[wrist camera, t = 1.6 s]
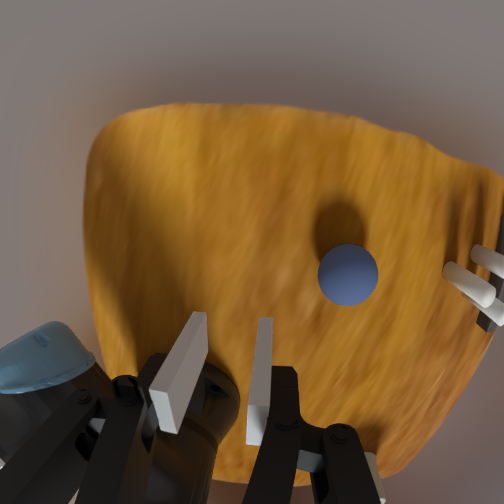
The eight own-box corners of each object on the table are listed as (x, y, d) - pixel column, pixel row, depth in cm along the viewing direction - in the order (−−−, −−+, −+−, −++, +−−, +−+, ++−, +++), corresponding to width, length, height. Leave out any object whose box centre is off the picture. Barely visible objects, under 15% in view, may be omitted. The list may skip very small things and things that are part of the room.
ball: (311, 289, 29) (318, 316, 24) (316, 236, 28) (327, 251, 22) (362, 291, 29) (379, 316, 23) (370, 239, 27) (392, 255, 22)
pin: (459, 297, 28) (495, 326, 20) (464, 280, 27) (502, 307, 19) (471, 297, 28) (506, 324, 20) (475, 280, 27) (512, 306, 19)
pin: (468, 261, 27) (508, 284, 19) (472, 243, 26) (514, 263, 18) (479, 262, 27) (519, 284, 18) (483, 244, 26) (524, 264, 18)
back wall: (476, 322, 29) (486, 332, 26) (501, 215, 25) (515, 219, 22) (484, 322, 29) (494, 331, 26) (509, 217, 24) (522, 221, 22)
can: (338, 453, 38) (346, 505, 26) (382, 448, 37) (395, 496, 26) (325, 474, 40) (329, 520, 29) (365, 470, 40) (374, 513, 28)
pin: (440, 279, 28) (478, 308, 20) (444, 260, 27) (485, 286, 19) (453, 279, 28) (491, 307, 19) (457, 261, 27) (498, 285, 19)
